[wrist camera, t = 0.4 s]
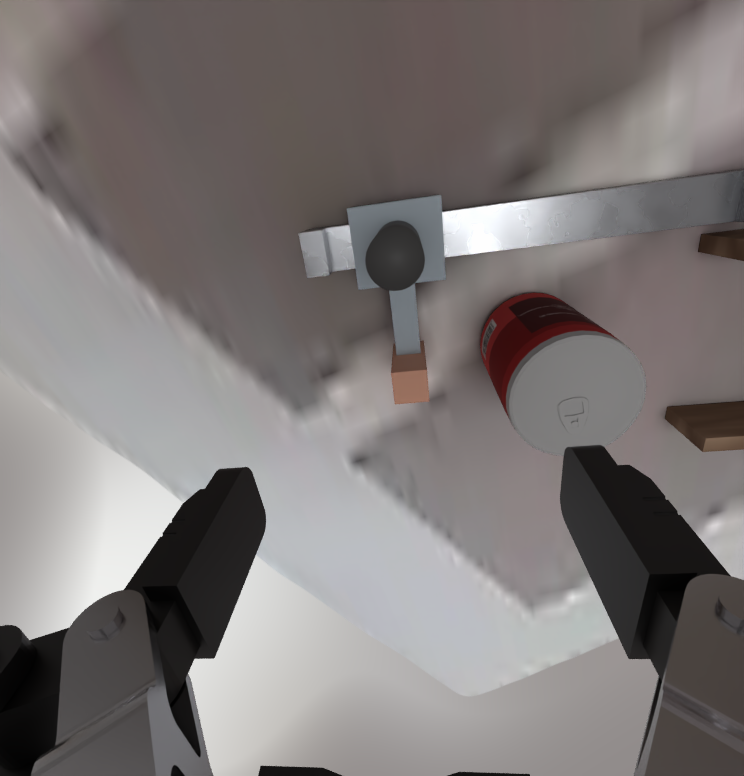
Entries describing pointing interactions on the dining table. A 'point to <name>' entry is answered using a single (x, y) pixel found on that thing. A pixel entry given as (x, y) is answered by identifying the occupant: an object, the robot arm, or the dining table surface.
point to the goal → (717, 420)
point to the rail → (559, 218)
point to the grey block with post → (401, 275)
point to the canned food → (560, 374)
